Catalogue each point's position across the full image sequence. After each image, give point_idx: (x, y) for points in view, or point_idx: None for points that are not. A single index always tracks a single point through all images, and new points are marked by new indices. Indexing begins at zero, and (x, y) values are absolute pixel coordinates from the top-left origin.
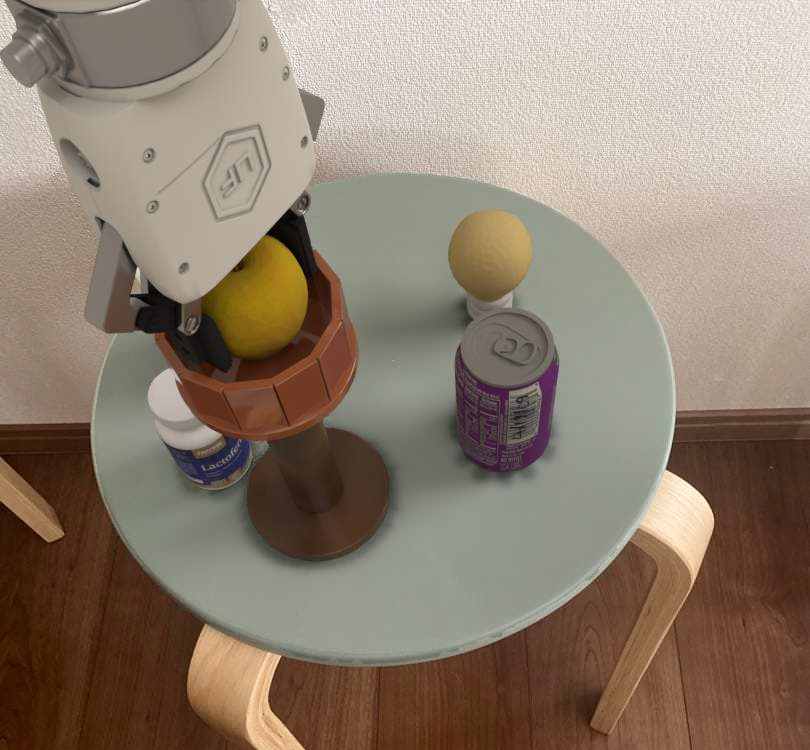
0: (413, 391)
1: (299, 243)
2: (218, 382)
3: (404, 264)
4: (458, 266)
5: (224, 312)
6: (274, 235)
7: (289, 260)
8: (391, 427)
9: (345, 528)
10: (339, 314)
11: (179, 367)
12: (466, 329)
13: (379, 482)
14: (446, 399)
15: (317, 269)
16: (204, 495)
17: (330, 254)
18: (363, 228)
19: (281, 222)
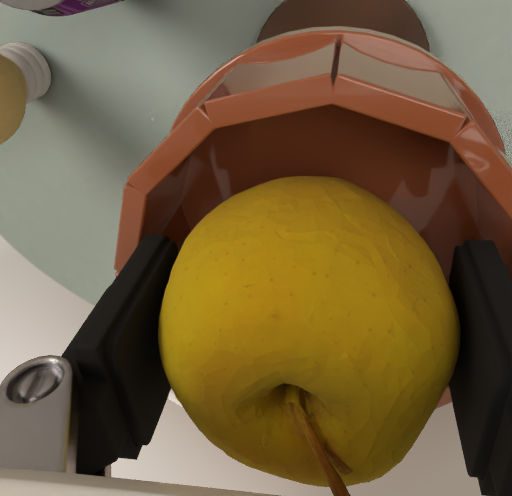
0: (164, 73)
1: (129, 311)
2: None
3: (65, 184)
4: (4, 113)
5: (433, 350)
6: (156, 362)
7: (185, 306)
8: (215, 63)
9: (362, 9)
10: (193, 121)
11: None
12: (43, 7)
13: (284, 18)
14: (144, 31)
15: (144, 237)
16: None
17: (113, 249)
18: (70, 241)
19: (120, 384)
